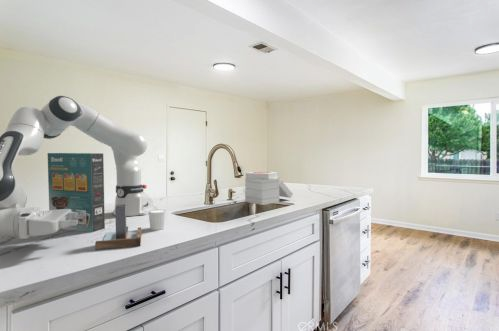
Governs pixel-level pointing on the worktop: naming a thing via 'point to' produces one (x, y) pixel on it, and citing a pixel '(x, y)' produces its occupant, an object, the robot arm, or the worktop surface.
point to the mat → (113, 237)
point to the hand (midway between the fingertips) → (81, 218)
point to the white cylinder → (157, 219)
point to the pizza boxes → (264, 188)
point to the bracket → (121, 222)
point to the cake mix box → (78, 187)
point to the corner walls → (119, 242)
